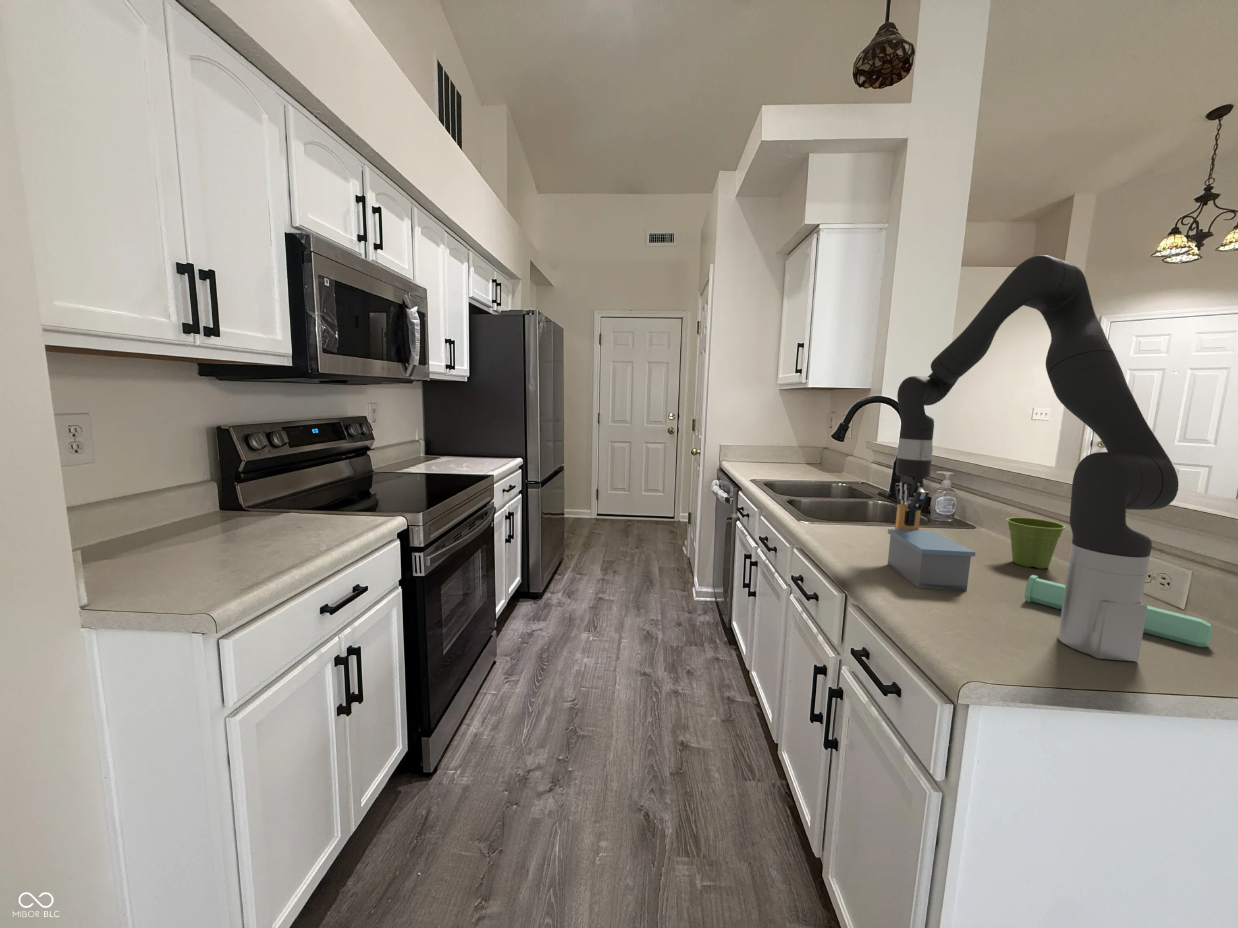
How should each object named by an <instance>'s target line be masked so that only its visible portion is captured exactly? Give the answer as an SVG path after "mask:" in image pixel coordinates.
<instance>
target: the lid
mask: <svg viewBox="0 0 1238 928" xmlns="http://www.w3.org/2000/svg"><path fill="white" fill-rule="evenodd" d="M896 507H897V508H896V515H895V516H896V517H895V518H896V519H895V527H894V529H892V528H891V529H890V528H889V529H887V534H889V535H892V536H893V537H895V538H897V539H898V540H900V541H901V542H903V543H905V544H906V545H908V546H910V547H911V548H913V549H915V550H916V551H918V552H919V553H921V554H938V555H956V556H971V557H973V558H974V557H976V551H974V550H972V549H970V548H969V547H966V546H964V545H962V544H960V543H958V542H956V541H954V540H952V539H950V538H948V537H946V536H945V535H942V534H940V533H938V532H936V531H928V530H921V529H919V528H920V521H921V511H922V510H921V511H920V510H918V511H917V512H916V515H915V525H914V526H906V525H905V524H904V521H905V511H906V504H898V503H897V506H896Z"/></svg>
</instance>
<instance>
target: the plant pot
mask: <svg viewBox="0 0 1238 928" xmlns="http://www.w3.org/2000/svg"><path fill="white" fill-rule="evenodd" d="M1005 521H1006V522H1007V523H1008V530H1009V534H1010V544H1011V547H1010V548H1011V557H1012V561H1013V562H1014V563H1015V564H1016V565H1019V566H1023V567H1026V568H1031V567H1033V568H1035V569H1039V570H1040V569H1041V570H1042V569H1047V568H1049V567H1050V565H1051V561H1052V559H1053V555H1054V553H1055V550H1056V547H1057V544H1058V541H1059V538H1060V537H1061V536H1062V533H1063V531H1064V530H1065V529H1066V528H1067V526H1066V525H1065V524H1063V523H1060V522H1057V521H1052V520H1046V519H1041V518H1033V517H1019V516H1017V517H1016V516H1013V517H1007V518H1005Z"/></svg>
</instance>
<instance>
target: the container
mask: <svg viewBox="0 0 1238 928" xmlns="http://www.w3.org/2000/svg"><path fill="white" fill-rule="evenodd" d="M1065 585H1066V584H1063V583H1057V582H1054V581H1049V580H1046V579H1042V578H1039V576H1038V575H1034V574H1031V575H1030V576H1029V578H1028V580H1027V583H1026V585H1025V591H1024V600H1025V602H1027V603H1032V602H1033V603H1037V604H1041V605H1044V606H1046V607H1047V606H1048V607H1051V608H1055V609H1057V610H1061V611H1062V605H1063V598H1064V591H1065ZM1143 633H1144V634H1149V635H1152V636H1157V637H1160V638H1164V639H1167V640H1171V641H1175V642H1178V643H1181V644H1185V645H1186V644H1187V645H1190V646H1193V647H1197V648H1206V647H1207V646H1208V645H1209V643H1210V642H1211V641H1212V639H1213V638H1214V635H1213V634H1214V633H1213V628H1212V624H1211V623H1209V622H1207V621H1206V620H1204V619H1202V618H1198V617H1195V616H1191V615H1186V614H1182V613H1178V612H1174V611H1170V610H1167V609H1162V608H1159V607H1154V606H1151V605H1147V613H1146V619H1145V625H1144V630H1143Z"/></svg>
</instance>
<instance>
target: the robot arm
mask: <svg viewBox="0 0 1238 928" xmlns="http://www.w3.org/2000/svg"><path fill="white" fill-rule="evenodd" d="M1023 306H1025V307H1027V308H1032V309H1034V310H1037V311H1038V312H1039V313H1040V314H1041V315H1042V317H1043V319H1044V320H1045V323H1046V325H1047V326H1048V327H1047V328H1048V329H1049V332H1050V338H1051V339H1050V345H1049V348H1048V350H1047V353H1046V358H1045V369H1046V373H1047V376H1048V379H1049V382H1050V384H1051V388H1052V389H1053V393H1054V394H1055V397H1056V399H1058V401H1059V402H1060V403H1061V405H1063V406H1064V407H1065V408H1066V409H1067V411H1069V412H1070V413H1071V414H1072V415H1074V416H1075V417H1076V418H1077V419H1079V420H1080V421H1081V422H1082V423H1083V424H1084V425H1086V426H1087V427H1088V428H1090V429H1091V430H1092V432H1094V434H1095V435H1097V437H1098V438H1099V439H1100V440H1101V442H1102V444H1103V445H1104V447H1105V449H1106V451H1103V452H1102V451H1101V452H1100V451H1099V452H1093V453H1090V454H1088V455H1085V457H1084V458H1082V459H1081V460H1080V462H1079V463H1078V464H1077V466H1076V468H1075V471H1074V473H1073V477H1072V478H1073V479H1072V482H1071V483H1072V485H1071V497H1070V509H1069V510H1070V512H1069V525H1070V526H1069V527H1070V529H1071V530H1070V531H1071V532H1072V533H1071V534H1072V539H1071V540H1072V541H1071V547H1070V553H1069V558H1068V559H1069V560H1068V566H1067V573H1066V577H1065V578H1066V579H1065V584H1064V585H1065V591H1064V598H1063V605H1062V610H1061V612H1060V613H1061V614H1060V621H1059V628H1058V633H1057V639H1058V640H1059V642H1061V643H1062V644H1064V645H1065V646H1067V647H1069V648H1071V649H1074V650H1076V651H1079V652H1081V653H1084V654H1087V655H1090V656H1092V657H1094V658H1096V659H1100V660H1113V661H1125V662H1126V661H1127V662H1139V659H1140V652H1141V648H1142V647H1141V646H1142V640H1143V635H1144V632H1143V630H1144V625H1145V619H1146V613H1147V606H1148V605H1147V604H1145V603H1142V602H1143V598H1144V591H1145V585H1146V580H1147V575H1148V574H1147V573H1148V567H1149V562H1150V557H1151V556H1150V555H1151V554H1152V553H1151V552H1152V545H1153V543H1152V539H1151V538H1150V537H1149V536H1148V535H1147V534H1144V533H1141V532H1140V531H1139V532H1138V531H1135V530H1133V529H1132V528H1130V527H1129V525H1127V520H1126V519H1127V518H1126V517H1127V515H1126V514H1127V510H1132V511H1133V510H1134V511H1135V510H1137V511H1138V510H1143V511H1144V510H1145V511H1148V510H1151V511H1152V510H1160V509H1163V508H1165V507H1167V506H1169V505H1170V504H1171V503H1172V502H1174V501H1175V499H1176V497H1177V495H1178V491H1179V478H1178V477H1179V476H1178V474H1177V470H1176V468H1175V466H1174V464H1173V463H1172V462H1173V461H1172V460H1171V459H1170V457H1169V455H1168V454H1167V453H1166V451H1165V449H1164V448H1163V446H1162V444H1161V443H1160V441H1159V440H1158V438H1157V437H1156V435H1155V434H1154V432H1153V430H1152V429H1151V428H1150V426H1149V424H1148V423H1147V421H1146V419H1145V417H1144V415H1143V413H1142V411H1141V410H1140V407H1139V404H1138V403H1137V401H1136V399H1135V397H1134V395H1133V393H1132V391H1131V389H1130V387H1129V386H1128V385H1129V384H1128V382H1127V380H1126V378H1125V375H1124V372H1123V370H1122V368H1121V365H1120V363H1119V361H1118V359H1117V356H1116V353H1115V351H1114V350H1113V348H1112V347H1111V344H1110V343H1109V340H1108V338H1107V336H1106V334H1105V331H1104V329H1103V327H1102V325H1101V323H1100V321H1099V319H1098V317H1097V315H1096V312H1095V309H1094V305H1093V302H1092V299H1091V295H1090V290H1089V285H1088V283H1087V279H1086V276H1085V274H1084V271H1082V269H1081V268H1079V266H1077V265H1076V264H1074V263H1072V262H1068V261H1066V260H1062V259H1060V258H1056V257H1054V256H1051V255H1047V254H1045V255H1044V254H1038V255H1034V256H1030V257H1029V258H1027V259H1025V260H1023V261H1022V262H1021V263H1020V264H1018V266H1016V268H1014V269H1013V270H1012V271H1011V273H1009V275H1008V276H1007V277H1006V278H1005V279H1004V281H1003V282H1002V283H1001V284H1000V286H998V288H997V289H996V290H995V292H994V293H993V294H992V296H991V297H990V298H989V299H988V300H987V301H986V303H985V304H984V305H983V307H982V308H981V309H980V311H979V312H978V313H977V314H976V315H975V317H974V318H973V319H972V320H971V321H970V323H969V324H968V325H967V327H966V328H964V329H963V331H962V332H961V333H960V334H959V335H958V336H957V337H956V338H955V339H954V340H953V341H952V342H951V343H949V345H947V346H946V347H945V348H944V349H943V350H942V351H941V352H939V354H937V356H935V357H934V359H933V360H932V362H931V363H930V370H931V373H930V374H929V375H928V376H919V375H918V376H917V375H916V376H915V375H912V376H908V377H906V378H904V379H903V380H902V381H901V383H900V385H899V387H898V390H897V396H896V397H897V405H898V410H899V417H900V419H901V420H900V421H901V424H900V425H901V426H900V435H899V440H898V441H899V443H898V446H897V454H896V462H895V463H896V464H895V474H896V475H898V476H901V477H900V480H899V483H898V482H897V483H896V482H895V483H894V489H895V490H894V491H895V496H896V497H895V498H896V502H897V505H898V504H906V511H905V521H904V524H905V525H906V526H914V525H915V515H916V512H917V511H918V510H920V511H922V509H923V508H924V506H925V504H926V502H927V500H928V497H929V495H930V493H929V491H927V490H926V491H925V490H924V485H925V484H924V478H925V479H927V478H930V475H931V470H932V461H933V460H932V459H933V451H934V450H933V448H934V446H933V440H934V429H935V419H934V418H933V417H932V416H930V415H927V414H926V411H925V409H926V408H925V406H933V405H936V404H937V403H939V402H941V401H942V400H944V399H945V397H946V396H947V395H948V394H949V393H950V392H951V390H952V389H953V387H954V386H955V385H956V383H957V382H958V380H959V379H960V378H961V377H962V376H964V375H965V374H966V373H968V372H969V371H970V370H971V369H972V368H973V367H975V365H977V363H979V362H980V361H982V359H983V358H984V357H985V355H986V354H987V352H988V351H989V349H990V348H991V345H992V343H993V340H994V339H995V336H996V333H997V332H998V330H999V328H1000V327H1001V325H1002V324H1003V323H1004V322H1005V321H1006V320H1007V319H1008V318H1009V317H1010V316H1011V315H1012V314H1014V313H1015V312H1017V311H1018V310H1019V309H1021V308H1022V307H1023Z"/></svg>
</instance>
